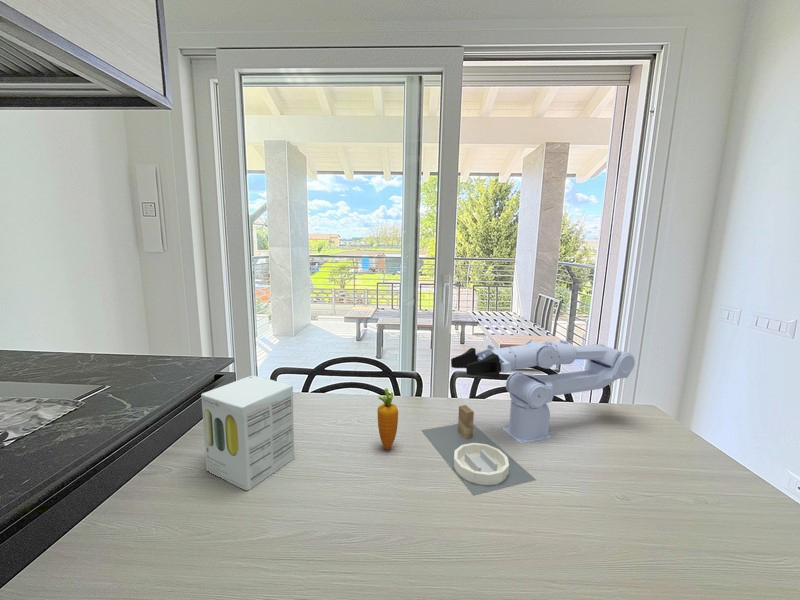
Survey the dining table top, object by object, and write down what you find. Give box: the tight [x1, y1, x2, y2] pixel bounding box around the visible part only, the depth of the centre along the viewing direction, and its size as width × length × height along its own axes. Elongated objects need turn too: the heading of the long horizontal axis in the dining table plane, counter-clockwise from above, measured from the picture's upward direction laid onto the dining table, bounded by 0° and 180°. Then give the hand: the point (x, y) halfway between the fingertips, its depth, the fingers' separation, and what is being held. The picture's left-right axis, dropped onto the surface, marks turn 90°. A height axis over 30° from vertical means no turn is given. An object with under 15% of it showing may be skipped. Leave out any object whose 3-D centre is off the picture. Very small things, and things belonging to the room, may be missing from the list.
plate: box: [454, 443, 509, 486], centre depth 76 cm, size 11×11×2 cm
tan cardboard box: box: [457, 404, 475, 439], centre depth 89 cm, size 2×4×7 cm, turn 20°
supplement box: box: [200, 374, 296, 491], centre depth 75 cm, size 13×13×18 cm
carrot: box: [377, 387, 399, 451], centre depth 82 cm, size 5×5×15 cm
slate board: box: [420, 423, 537, 497], centre depth 82 cm, size 15×26×1 cm, turn 19°
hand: (459, 366), depth 82 cm, fingers open, 7 cm apart
